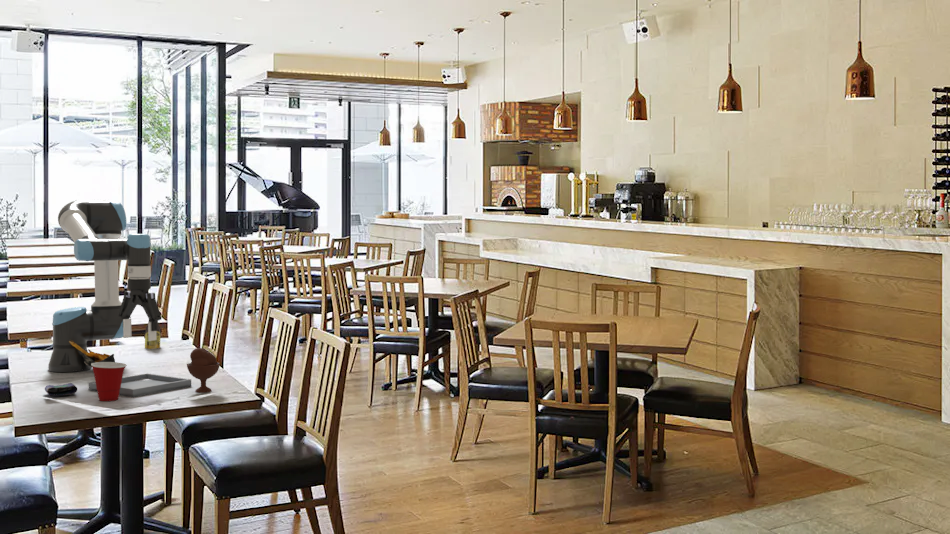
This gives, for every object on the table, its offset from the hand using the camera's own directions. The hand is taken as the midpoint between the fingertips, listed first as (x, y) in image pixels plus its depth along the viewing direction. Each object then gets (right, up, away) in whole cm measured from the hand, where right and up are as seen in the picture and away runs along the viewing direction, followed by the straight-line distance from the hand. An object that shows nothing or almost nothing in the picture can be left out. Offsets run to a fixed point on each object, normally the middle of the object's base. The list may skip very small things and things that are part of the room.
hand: (139, 339), depth 309 cm
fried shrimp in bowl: (-22, -16, +27) cm, 38 cm away
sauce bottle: (-22, -14, +72) cm, 77 cm away
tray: (0, -17, +1) cm, 17 cm away
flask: (-19, -19, -16) cm, 31 cm away
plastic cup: (-2, -18, -20) cm, 27 cm away
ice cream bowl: (+24, -18, -5) cm, 30 cm away
